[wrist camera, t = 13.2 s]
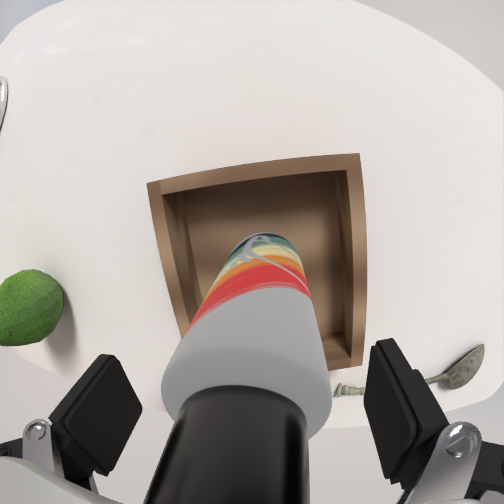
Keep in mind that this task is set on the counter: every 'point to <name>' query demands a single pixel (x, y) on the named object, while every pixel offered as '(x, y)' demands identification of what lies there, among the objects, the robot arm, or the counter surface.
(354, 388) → the soupspoon
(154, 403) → the counter surface
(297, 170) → the walnut tray
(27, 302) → the avocado
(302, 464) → the lotion bottle
